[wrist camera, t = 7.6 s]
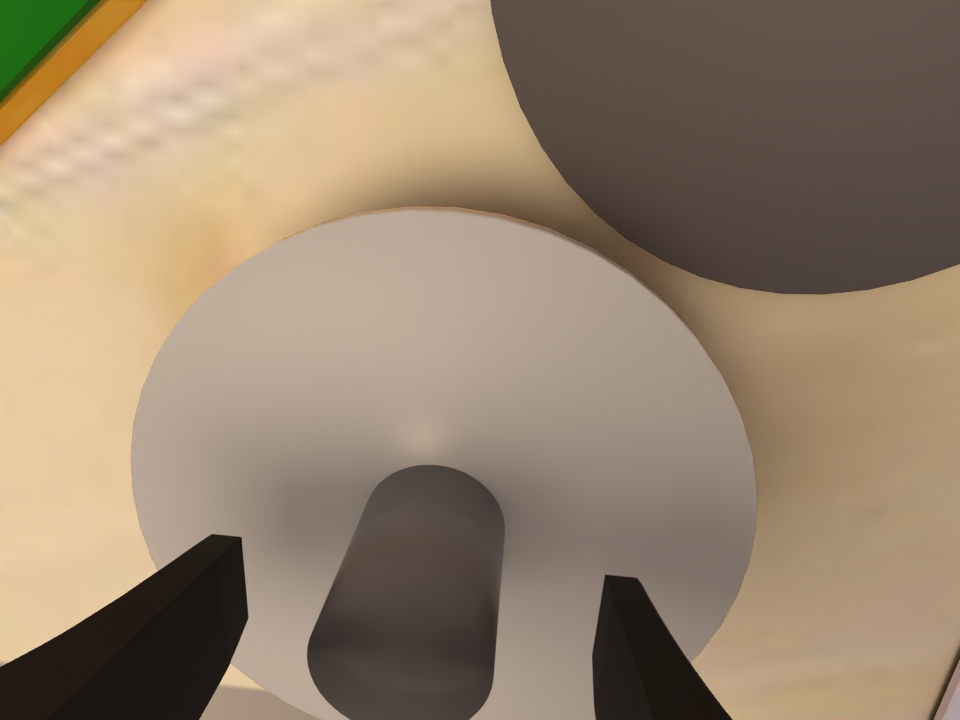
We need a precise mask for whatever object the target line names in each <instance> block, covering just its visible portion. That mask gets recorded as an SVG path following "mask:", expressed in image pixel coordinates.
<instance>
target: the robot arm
mask: <svg viewBox="0 0 960 720" xmlns="http://www.w3.org/2000/svg"><path fill="white" fill-rule="evenodd" d="M248 618H249V616H248V605H247V593H246V582H245V571H244V559H243V548H242V537H237V536H228V535H218V534H211V535H209V536H208V537H206V538H205V539H203V540H202V541H200V542H199V543H197V544H196V545H195V546H193V547H192V548H190V549H189V550H187V551H186V552H184V553H183V554H182V555H180V556H179V557H177V558H176V559H175V560H173V561H172V562H170V563H169V564H167V565H166V566H165V567H163V568H162V569H160V570H159V571H158V572H156V573H155V574H153V575H152V576H150V577H149V578H147V579H146V580H144V581H143V582H142V583H140V584H139V585H137V586H136V587H134V588H133V589H131V590H130V591H128V592H127V593H126V594H124V595H123V596H121V597H120V598H118V599H116V600H115V601H113V602H112V603H110V604H108V605H107V606H105V607H104V608H102V609H101V610H99V611H97V612H96V613H94V614H93V615H91V616H89V617H88V618H86V619H85V620H83V621H82V622H80V623H78V624H77V625H75V626H74V627H72V628H70V629H69V630H67V631H65V632H64V633H62V634H60V635H59V636H57V637H55V638H53V639H52V640H50V641H48V642H46V643H44V644H43V645H41V646H39V647H37V648H35V649H33V650H32V651H30V652H28V653H26V654H24V655H22V656H20V657H19V658H17V659H15V660H13V661H11V662H9V663H7V664H5V665H3V666H1V667H0V720H199V719H200V717H201V715H202V713H203V712H204V710H205V708H206V706H207V705H208V703H209V701H210V699H211V698H212V695H213V694H214V692H215V690H216V689H217V687H218V685H219V683H220V681H221V680H222V678H223V676H224V674H225V672H226V670H227V669H228V667H229V664H230V662H231V660H232V658H233V655H234V653H235V651H236V648H237V646H238V643H239V641H240V638H241V636H242V633H243V631H244V628H245V626H246V623H247V621H248ZM592 670H593V695H594V711H595V718H596V720H732V719H731V717H730V716H729V715H728V714H727V712H726V711H725V710H724V709H723V707H722V706H721V705H720V703H719V702H718V701H717V699H716V698H715V697H714V695H713V694H712V693H711V691H710V690H709V689H708V687H707V686H706V685H705V683H704V682H703V680H702V679H701V678H700V676H699V675H698V673H697V672H696V671H695V669H694V668H693V666H692V665H691V663H690V662H689V660H688V659H687V657H686V656H685V654H684V653H683V651H682V650H681V648H680V647H679V645H678V644H677V642H676V641H675V639H674V638H673V636H672V635H671V633H670V631H669V630H668V628H667V626H666V625H665V623H664V622H663V620H662V618H661V617H660V615H659V613H658V612H657V610H656V608H655V606H654V605H653V603H652V601H651V599H650V598H649V596H648V594H647V592H646V591H645V589H644V587H643V585H642V583H641V582H640V581H639V580H638V578H635V577H625V576H615V575H606V574H605V578H604V584H603V590H602V596H601V603H600V609H599V615H598V621H597V627H596V634H595V640H594V646H593V652H592ZM934 720H960V660H959V662H958V665H957V667H956V669H955V672H954V674H953V676H952V678H951V681H950V683H949V685H948V688H947V690H946V692H945V695H944V697H943V699H942V702H941V704H940V706H939V709H938V711H937V713H936V716H935V718H934Z"/></svg>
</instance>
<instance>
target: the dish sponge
mask: <svg viewBox="0 0 960 720" xmlns="http://www.w3.org/2000/svg"><path fill="white" fill-rule="evenodd" d="M146 1H147V0H0V146H1V145H2V144H3V143H4V142H5V141H6V140H7V139H8V138H9V137H10V136H11V135H12V134H13V133H14V132H15V131H16V130H17V129H18V128H19V127H20V126H21V125H22V124H23V123H24V122H25V121H26V120H27V119H28V118H29V117H30V116H31V115H32V114H33V113H34V112H35V111H36V110H37V109H38V108H39V107H40V106H41V105H42V104H43V103H44V102H45V101H46V100H47V99H48V98H49V97H50V96H51V95H52V94H53V93H54V92H55V91H56V90H57V89H58V88H59V87H60V86H61V85H62V84H63V83H64V82H65V81H66V80H67V79H68V78H69V77H70V76H71V75H72V74H73V73H74V72H75V71H76V70H77V69H78V68H79V67H80V66H81V65H82V64H84V63H85V62H86V61H87V60H88V59H89V58H90V57H91V56H92V55H93V54H94V53H95V52H96V51H97V50H98V49H99V48H100V47H101V46H102V45H103V44H104V43H105V42H106V41H107V40H108V39H109V38H110V37H111V36H112V35H113V34H114V33H115V32H116V31H117V30H118V29H119V28H120V27H121V26H122V25H123V24H124V23H125V22H126V21H127V20H128V19H129V18H130V17H131V16H132V15H133V14H134V13H135V12H136V11H137V10H138V9H139V8H140V7H141V6H142V5H143V4H144V3H145V2H146Z"/></svg>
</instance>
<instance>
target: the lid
mask: <svg viewBox="0 0 960 720" xmlns="http://www.w3.org/2000/svg"><path fill="white" fill-rule="evenodd" d="M131 473H132V489H133V496H134V501H135V505H136V510H137V515H138V520H139V524H140V528H141V530H142V533H143V536H144V539H145V542H146V544H147V547H148V550H149V553H150V555H151V558H152V560H153V562H154V564H155V566H156V568H157V570H158V571H159V570H160V569H162V568H163V567H165V566H166V565H167V564H169V563H170V562H172V561H173V560H175V559H176V558H177V557H179V556H180V555H182V554H183V553H184V552H186V551H187V550H189V549H190V548H192V547H193V546H195V545H196V544H197V543H199V542H200V541H202V540H203V539H205V538H206V537H208V536H209V535H211V534H218V535H228V536H237V537H242V548H243V559H244V571H245V582H246V593H247V605H248V616H249V618H248V621H247V623H246V626H245V628H244V631H243V633H242V636H241V638H240V641H239V643H238V646H237V648H236V651H235V653H234V655H233V658H232V660H231V662H230V663H231V664H232V665H233V666H234V667H236V668H237V669H238V670H240V671H241V672H242V673H244V674H245V675H246V676H248V677H249V678H250V679H251V680H253V681H254V682H255V683H257V684H258V685H259V686H261V687H262V688H264V689H266V690H267V691H269V692H270V693H272V694H274V695H275V696H277V697H279V698H281V699H282V700H284V701H285V702H287V703H289V704H290V705H292V706H294V707H296V708H298V709H300V710H302V711H304V712H306V713H309V714H311V715H313V716H315V717H317V718H319V719H321V720H596V718H595V711H594V695H593V670H592V652H593V646H594V640H595V634H596V627H597V621H598V615H599V609H600V603H601V596H602V590H603V584H604V578H605V574H606V575H615V576H625V577H635V578H638V580H639V581H640V582H641V583H642V585H643V587H644V589H645V591H646V592H647V594H648V596H649V598H650V599H651V601H652V603H653V605H654V606H655V608H656V610H657V612H658V613H659V615H660V617H661V618H662V620H663V622H664V623H665V625H666V626H667V628H668V630H669V631H670V633H671V635H672V636H673V638H674V639H675V641H676V642H677V644H678V645H679V647H680V648H681V650H682V651H683V653H684V654H685V656H686V657H687V659H688V660H689V662H691V661H692V660H693V659H694V658H695V657H696V656H697V655H698V654H699V653H700V652H701V651H702V650H703V648H704V647H705V646H706V644H707V643H708V642H709V640H710V639H711V638H712V636H713V635H714V634H715V632H716V631H717V630H718V628H719V627H720V626H721V624H722V622H723V620H724V618H725V617H726V615H727V613H728V611H729V609H730V607H731V606H732V604H733V602H734V600H735V598H736V597H737V594H738V592H739V589H740V586H741V583H742V581H743V578H744V575H745V572H746V570H747V567H748V564H749V560H750V555H751V550H752V545H753V540H754V535H755V530H756V509H757V487H756V479H755V471H754V463H753V455H752V451H751V448H750V444H749V441H748V437H747V434H746V431H745V427H744V424H743V420H742V417H741V414H740V412H739V410H738V408H737V406H736V404H735V402H734V400H733V398H732V395H731V393H730V391H729V389H728V387H727V385H726V383H725V381H724V379H723V377H722V376H721V374H720V372H719V371H718V369H717V368H716V366H715V365H714V363H713V362H712V360H711V359H710V357H709V356H708V354H707V353H706V351H705V350H704V348H703V347H702V345H701V344H700V342H699V341H698V339H697V338H696V337H695V335H694V334H693V332H692V331H691V329H690V328H689V327H688V326H687V325H686V324H685V323H684V322H683V320H682V319H681V318H680V317H679V316H678V315H677V314H676V313H675V312H674V311H673V309H672V308H671V307H670V306H669V305H668V304H667V303H666V302H665V301H664V299H663V298H661V297H660V296H659V295H658V294H657V293H655V292H654V291H653V290H652V289H651V288H649V287H648V286H647V285H646V284H645V283H643V282H642V281H641V280H640V279H639V278H637V277H636V276H635V275H634V274H633V273H631V272H630V271H629V270H627V269H626V268H624V267H623V266H621V265H619V264H618V263H616V262H615V261H613V260H611V259H610V258H608V257H607V256H605V255H603V254H602V253H600V252H598V251H597V250H595V249H594V248H592V247H590V246H588V245H586V244H584V243H582V242H579V241H577V240H575V239H573V238H570V237H568V236H566V235H564V234H562V233H559V232H557V231H555V230H553V229H550V228H548V227H545V226H541V225H538V224H535V223H531V222H528V221H525V220H521V219H518V218H515V217H511V216H508V215H504V214H499V213H493V212H486V211H480V210H474V209H467V208H461V207H436V206H407V207H398V208H389V209H380V210H371V211H365V212H361V213H357V214H353V215H349V216H345V217H341V218H337V219H333V220H329V221H325V222H323V223H320V224H318V225H315V226H313V227H311V228H308V229H306V230H303V231H301V232H298V233H296V234H294V235H291V236H289V237H286V238H284V239H282V240H281V241H279V242H277V243H275V244H273V245H272V246H270V247H268V248H267V249H265V250H263V251H262V252H260V253H258V254H257V255H255V256H253V257H252V258H250V259H248V260H247V261H245V262H243V263H241V264H240V265H238V266H236V267H235V268H233V269H232V270H231V271H230V272H229V273H227V274H226V275H225V276H224V277H222V278H221V279H220V280H219V281H218V282H216V283H215V284H214V285H213V286H212V287H210V288H209V289H208V290H207V291H206V292H204V293H203V294H202V295H201V296H200V297H199V299H198V300H197V301H196V302H195V303H194V304H193V305H192V306H191V308H190V309H189V310H188V311H187V312H186V313H185V314H184V316H183V317H182V318H181V319H180V320H179V321H178V322H177V323H176V325H175V327H174V328H173V330H172V331H171V333H170V335H169V336H168V338H167V339H166V341H165V342H164V344H163V346H162V347H161V349H160V350H159V352H158V354H157V355H156V357H155V360H154V362H153V364H152V367H151V369H150V371H149V374H148V376H147V378H146V381H145V383H144V386H143V388H142V391H141V395H140V399H139V403H138V407H137V411H136V415H135V419H134V423H133V435H132V447H131Z"/></svg>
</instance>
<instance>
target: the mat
mask: <svg viewBox="0 0 960 720" xmlns="http://www.w3.org/2000/svg"><path fill="white" fill-rule="evenodd" d="M491 8H492V15H493V19H494V23H495V28H496V32H497V36H498V40H499V44H500V49H501V53H502V57H503V61H504V64H505V67H506V69H507V72H508V75H509V78H510V80H511V83H512V86H513V88H514V91H515V94H516V96H517V99H518V102H519V104H520V107H521V109H522V111H523V113H524V114H525V116H526V118H527V120H528V122H529V124H530V126H531V128H532V130H533V132H534V134H535V135H536V137H537V139H538V141H539V143H540V145H541V147H542V148H543V150H544V151H545V152H546V154H547V155H548V157H549V158H550V160H551V161H552V162H553V164H554V165H555V167H556V168H557V169H558V171H559V172H560V174H561V175H562V177H563V178H564V179H565V181H566V182H567V183H568V184H569V185H570V186H571V188H572V189H573V190H574V191H575V192H576V193H577V194H578V195H579V196H580V197H581V198H582V199H583V200H584V201H585V203H586V204H587V205H588V206H589V207H590V208H591V209H592V210H593V211H594V212H595V213H596V214H597V215H598V216H599V217H601V218H602V219H603V220H604V221H606V222H607V223H608V224H609V225H611V226H612V227H613V228H614V229H615V230H617V231H618V232H619V233H620V234H622V235H623V236H624V237H625V238H627V239H628V240H630V241H631V242H633V243H635V244H636V245H638V246H639V247H641V248H643V249H644V250H646V251H648V252H649V253H651V254H653V255H654V256H656V257H658V258H659V259H661V260H663V261H665V262H667V263H670V264H672V265H674V266H677V267H679V268H681V269H684V270H686V271H688V272H690V273H693V274H695V275H697V276H700V277H703V278H707V279H710V280H714V281H718V282H721V283H725V284H728V285H732V286H735V287H739V288H746V289H753V290H760V291H767V292H774V293H781V294H831V293H841V292H851V291H861V290H869V289H874V288H878V287H883V286H887V285H892V284H896V283H901V282H905V281H910V280H914V279H917V278H920V277H923V276H926V275H929V274H932V273H935V272H937V271H940V270H943V269H946V268H949V267H952V266H955V265H958V264H960V0H491Z"/></svg>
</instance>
